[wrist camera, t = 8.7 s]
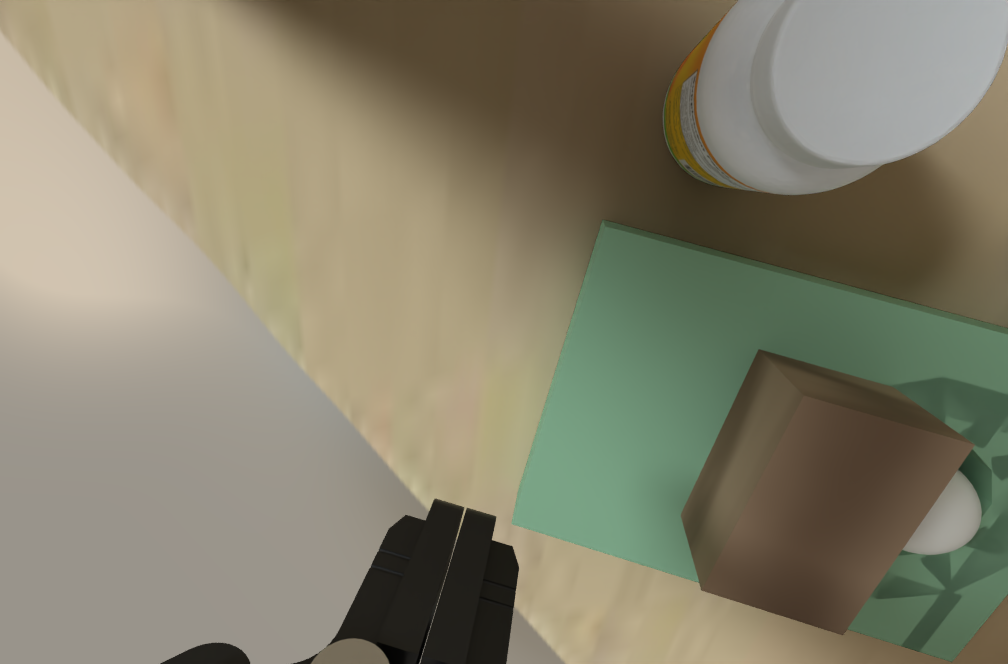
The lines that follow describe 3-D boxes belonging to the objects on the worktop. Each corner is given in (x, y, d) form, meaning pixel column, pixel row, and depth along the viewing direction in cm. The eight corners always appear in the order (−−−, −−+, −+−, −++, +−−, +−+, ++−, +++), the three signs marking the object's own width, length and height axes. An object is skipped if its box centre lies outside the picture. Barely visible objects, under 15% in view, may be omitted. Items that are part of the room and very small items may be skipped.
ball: (975, 581, 19) (861, 528, 22) (1012, 485, 19) (892, 446, 22) (937, 571, 17) (818, 514, 20) (979, 463, 17) (853, 425, 20)
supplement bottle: (804, 3, 17) (1066, -193, 8) (823, 161, 18) (1063, 153, 9) (646, 60, 18) (709, -49, 9) (675, 204, 19) (756, 235, 10)
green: (518, 490, 25) (511, 524, 22) (602, 219, 20) (604, 226, 18) (915, 613, 24) (951, 661, 21) (1107, 355, 19) (1182, 381, 16)
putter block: (680, 514, 21) (701, 590, 17) (758, 348, 18) (803, 395, 14) (795, 550, 21) (843, 635, 17) (893, 387, 18) (975, 444, 14)
